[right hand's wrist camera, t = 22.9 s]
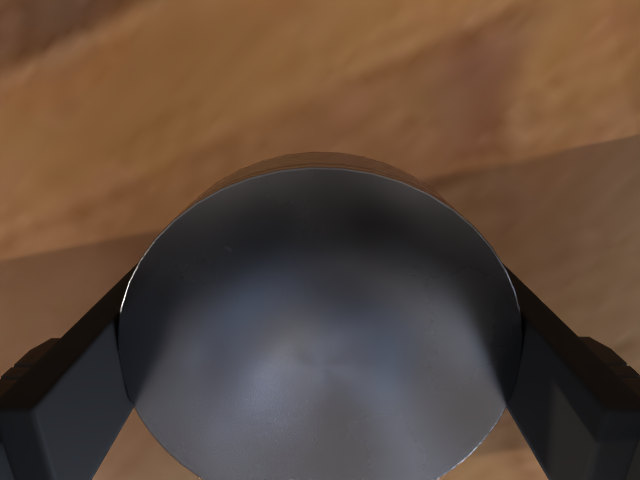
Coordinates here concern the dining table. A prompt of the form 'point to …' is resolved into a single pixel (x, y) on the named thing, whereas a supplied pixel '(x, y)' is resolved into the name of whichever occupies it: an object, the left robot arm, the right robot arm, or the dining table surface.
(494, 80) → the dining table surface
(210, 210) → the lid
